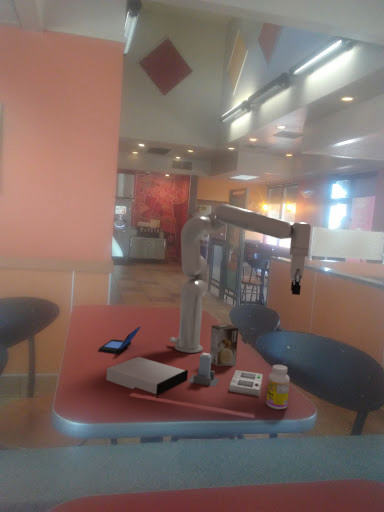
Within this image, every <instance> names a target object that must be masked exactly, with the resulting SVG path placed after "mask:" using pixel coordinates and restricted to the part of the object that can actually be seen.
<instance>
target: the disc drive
mask: <svg viewBox="0 0 384 512" xmlns="http://www.w3.org/2000/svg"><path fill="white" fill-rule="evenodd" d="M188 375H189V370H188V369H182V368H178V367H175V366H171V365H169V364H164V363H161V362H158V361H154V360H150V359H147V358H144V357H140V356H137V357H134V358H132V359H128V360H125V361H123V362H121V363H117V364H114V365H113V366H110V367H107V368H106V381H108V382H111V383H114V384H117V385H120V386H122V387H124V388H129V389H131V390H135V388H137V389H140V390H143V391H146V392H149V393H151V394H155V395H156V396H155V395H153V397H154V398H156V399H159V398H160V396H159V395H161V394H163V393H164V392H167V391H168V390H171V389H172V388H174V387H177V386H178V385H180V384H182V383H184V382H186V381H188Z"/></svg>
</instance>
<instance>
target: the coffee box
mask: <svg viewBox="0 0 384 512" xmlns="http://www.w3.org/2000/svg"><path fill="white" fill-rule="evenodd" d="M238 337H239V327H237V326H234V325H232V324H218V325H216V324H215V325H211V334H210V347H209V348H210V350H209V353H210V355H212V359H211V364H213V365H214V366H216V367H224V366H228V367H229V366H231V367H236V364H237V353H238V350H237V349H238Z"/></svg>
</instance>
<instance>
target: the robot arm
mask: <svg viewBox="0 0 384 512" xmlns="http://www.w3.org/2000/svg"><path fill="white" fill-rule="evenodd" d="M227 226H229V227H234V228H238V229H241V230H243V231H248V232H251V233H252V232H253V233H258V234H261V235H265V236H267V237H268V236H269V237H271V238H276V239H280V240H285V239H290V247H289V256H291V259H290V268H289V269H290V270H289V279H290V280H291V284H290V285H291V286H290V291H291V294H292V295H295V296H300V295H301V287H302V285H301V281H302V280H303V276H304V270H305V260H306V257H309V251H310V239H311V228H312V227H311V224H310V223H308V222H300V221H299V222H289V221H286V220H283V219H278V218H275V217H271V216H268V215H263V214H261V213H259V212H256V211H253V210H249V209H246V208H242V207H239V206H235V205H231V204H227V203H221V204H219V205H218V206H216V208H215V210H214V211H213V212H211V213H208V214H207V215H205V216H203V215H197V216H194V217H192V218H190V219H189V220H187V221H186V223H185V224H184V225H183V226H182V229H181V233H180V245H181V246H180V248H181V249H180V251H181V269H182V272H183V274H184V275H185V276H187V281H185V282H184V283H183V284H182V287H181V289H180V316H179V328H178V329H179V330H178V331H179V332H178V337H174V336H173V337H172V336H171V337H169V342H170V343H171V344H172V343H173V344H175V345H174V350H176V351H179V352H182V353H187V354H189V353H190V354H193V353H200V352H202V351H203V346H202V345H201V344H200V341H201V328H202V314H203V313H202V312H203V297H204V296H205V295H206V294H207V292H208V286H209V285H208V284H209V282H208V279H209V278H208V265H207V261H206V259H205V258H204V257H203V256H202V255H201V254H202V253H201V242H200V238H201V237H202V236H208V235H211V234H212V233H215V232H217V231H219V230H221V229H223V228H224V227H227Z"/></svg>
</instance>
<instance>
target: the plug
mask: <svg viewBox="0 0 384 512" xmlns="http://www.w3.org/2000/svg"><path fill="white" fill-rule="evenodd" d="M211 359H212V355H210V352H209V353H207V352H202V353H201V354H200V356H199V363H198V365H199V366H198V369H199V374H198V373H197V375H200V376H206V377H210V372H211V371H212V370H211V367H212V363H211Z"/></svg>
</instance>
